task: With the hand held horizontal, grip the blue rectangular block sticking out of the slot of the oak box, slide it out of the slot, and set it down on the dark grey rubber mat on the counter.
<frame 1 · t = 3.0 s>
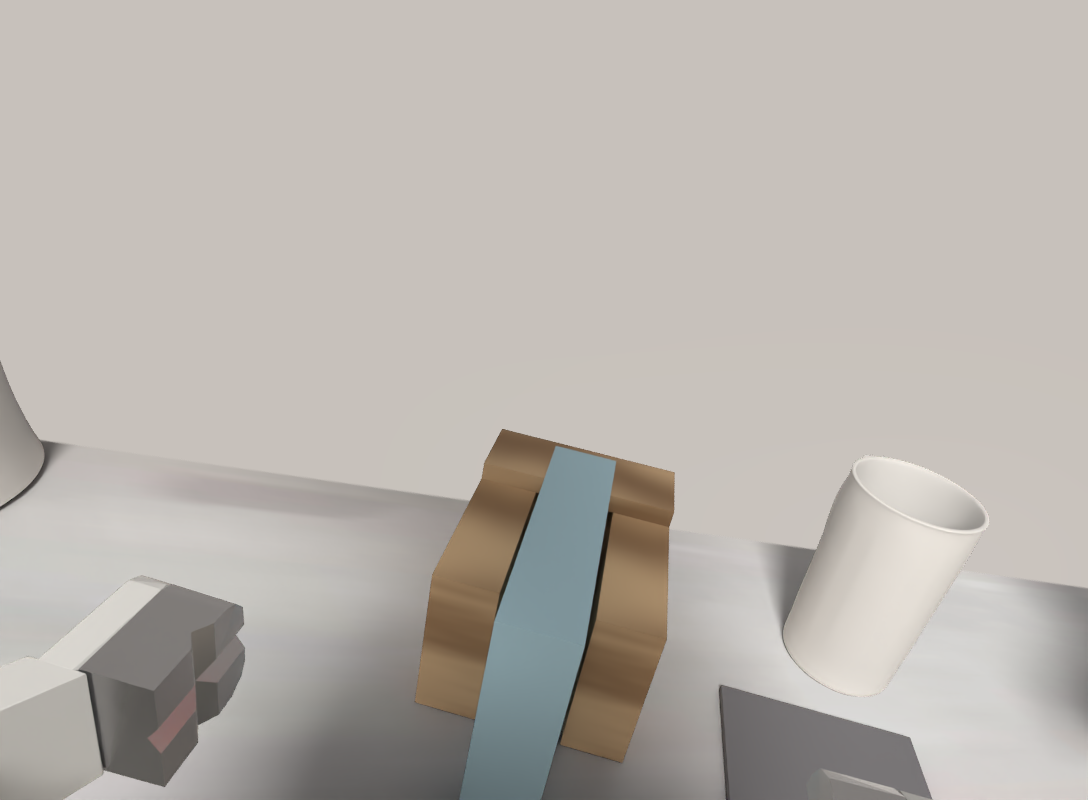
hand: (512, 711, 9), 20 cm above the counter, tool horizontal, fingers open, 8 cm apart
mug: (824, 636, 42), on the counter
blue rectangular block: (519, 724, 32), on the counter
slot box: (540, 639, 37), on the counter
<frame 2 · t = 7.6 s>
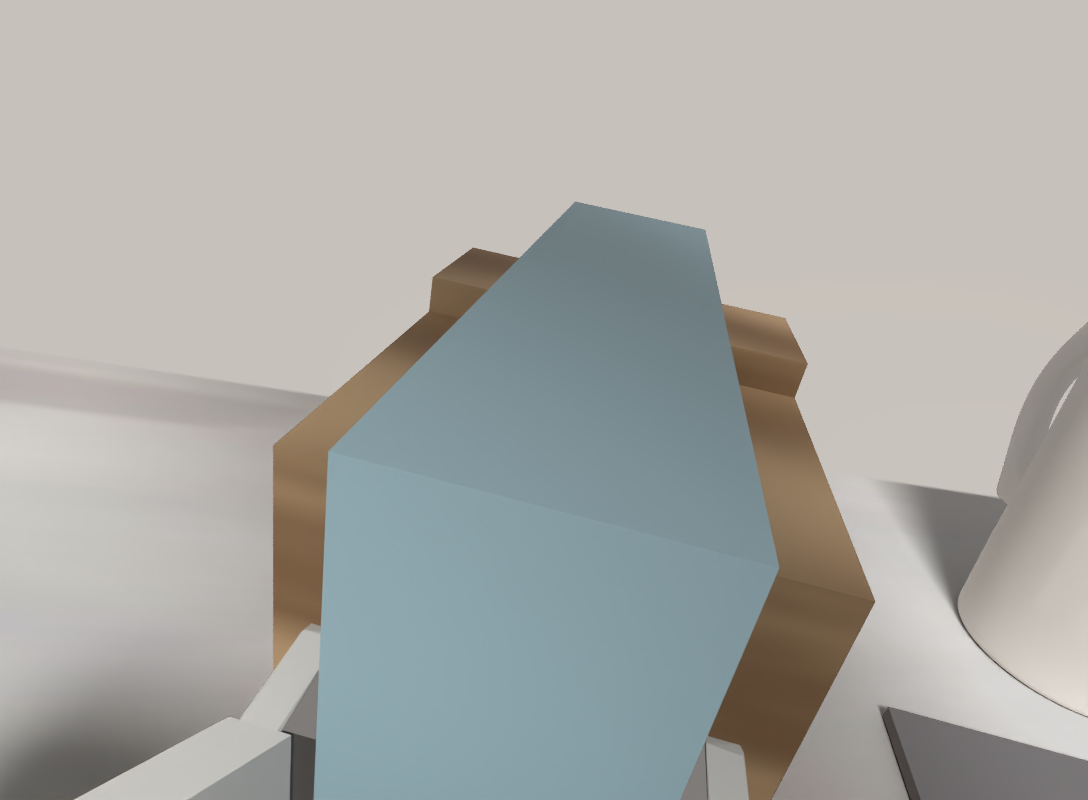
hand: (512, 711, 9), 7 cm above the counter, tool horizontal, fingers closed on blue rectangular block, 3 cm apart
mug: (1022, 619, 25), on the counter
blue rectangular block: (497, 795, 15), on the counter, touching gripper
slot box: (542, 621, 20), on the counter
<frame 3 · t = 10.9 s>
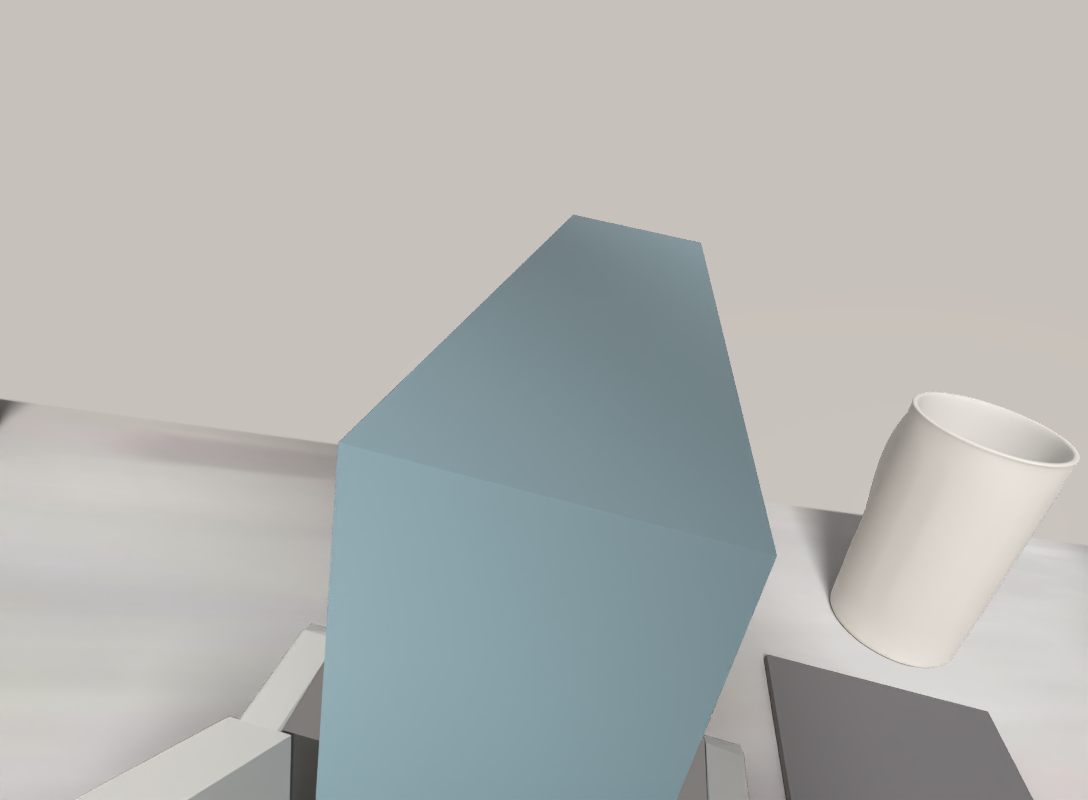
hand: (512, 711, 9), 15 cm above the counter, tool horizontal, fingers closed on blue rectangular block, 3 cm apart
mug: (876, 603, 37), on the counter
when the fingers open (8 cm above the counter, at t = 14.2 s): blue rectangular block stays where it is, resting on mat.
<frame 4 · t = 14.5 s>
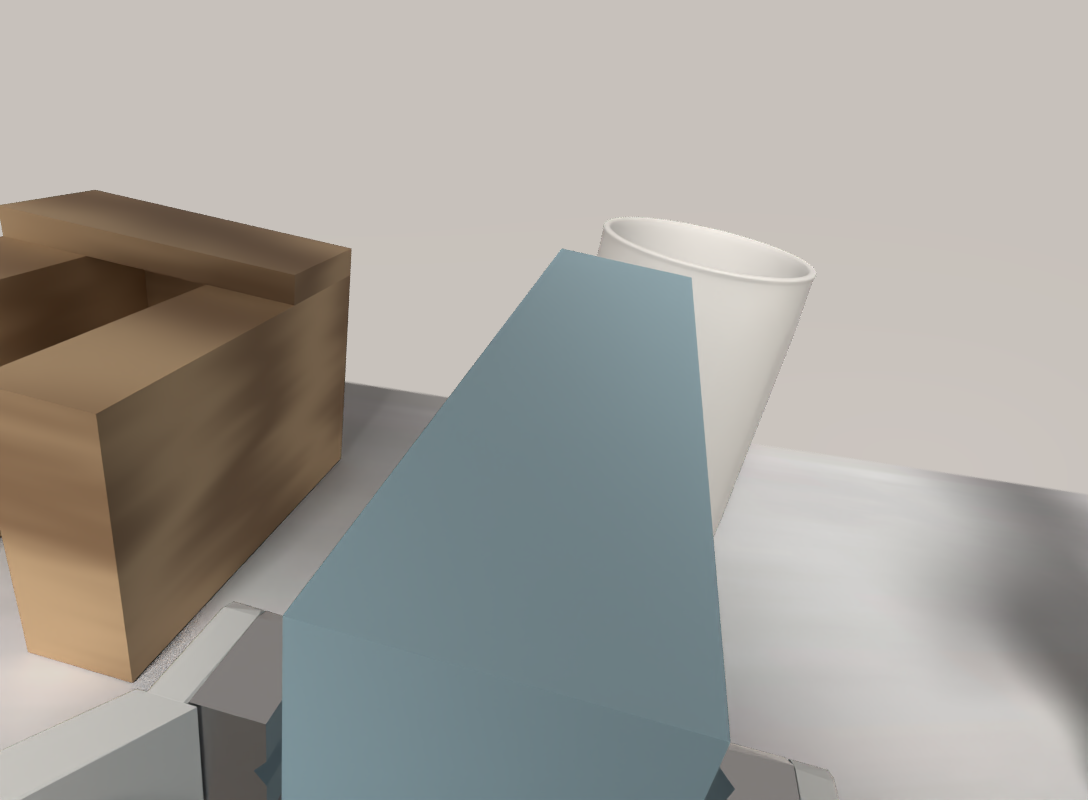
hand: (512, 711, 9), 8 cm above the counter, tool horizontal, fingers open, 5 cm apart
mug: (619, 523, 28), on the counter
slot box: (124, 506, 23), on the counter
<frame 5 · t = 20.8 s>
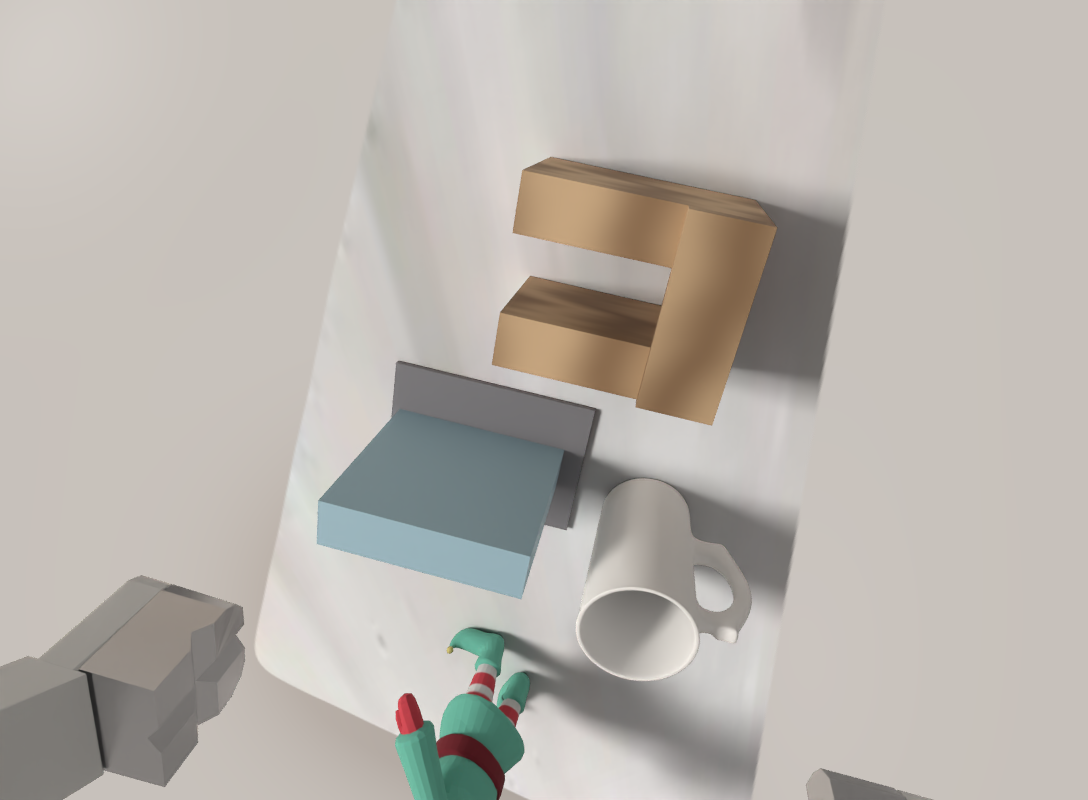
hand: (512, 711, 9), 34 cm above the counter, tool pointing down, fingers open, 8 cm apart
mug: (668, 516, 47), on the counter
blue rectangular block: (478, 447, 47), resting on mat
slot box: (631, 264, 40), on the counter
mat: (485, 446, 48), on the counter
toy: (513, 652, 56), on the counter
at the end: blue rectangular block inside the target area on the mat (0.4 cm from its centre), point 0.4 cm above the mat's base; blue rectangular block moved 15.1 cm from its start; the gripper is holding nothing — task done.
